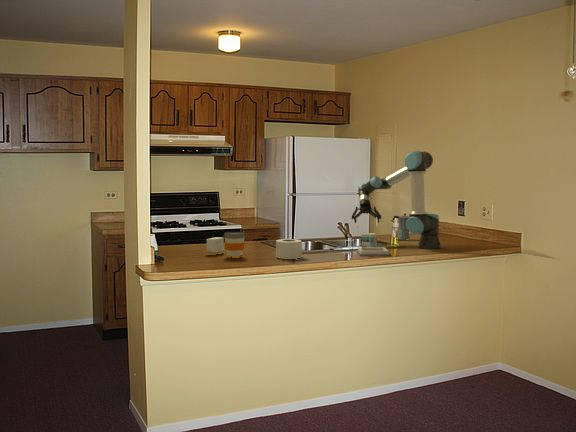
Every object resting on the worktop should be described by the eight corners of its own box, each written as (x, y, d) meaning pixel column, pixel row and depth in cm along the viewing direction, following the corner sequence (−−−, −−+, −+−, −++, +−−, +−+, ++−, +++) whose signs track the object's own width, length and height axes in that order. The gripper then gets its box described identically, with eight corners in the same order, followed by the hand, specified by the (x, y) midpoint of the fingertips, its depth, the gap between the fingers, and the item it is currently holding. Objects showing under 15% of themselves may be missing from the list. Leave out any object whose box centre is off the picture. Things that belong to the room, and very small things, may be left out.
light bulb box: (370, 251, 408) (370, 234, 407) (361, 250, 411) (361, 234, 410) (377, 249, 417) (377, 233, 416) (367, 248, 420) (368, 232, 419)
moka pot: (413, 240, 463) (413, 213, 461) (392, 240, 466) (392, 213, 464) (413, 239, 472) (413, 212, 470) (392, 239, 475) (392, 212, 473)
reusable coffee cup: (221, 256, 385) (221, 232, 384) (241, 255, 390) (240, 231, 389) (228, 259, 373) (227, 234, 372) (247, 258, 378) (247, 233, 377)
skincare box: (216, 253, 401) (215, 236, 400) (224, 253, 398) (224, 237, 397) (206, 255, 392) (206, 238, 391) (214, 255, 389) (214, 239, 388)
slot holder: (385, 251, 405) (385, 247, 404) (390, 256, 386) (390, 251, 385) (356, 251, 405) (356, 247, 404) (359, 256, 386) (359, 251, 385)
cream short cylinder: (306, 258, 379) (306, 240, 378) (287, 260, 368) (287, 242, 368) (289, 255, 390) (289, 238, 389) (270, 257, 380) (270, 240, 379)
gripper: (382, 206, 440) (385, 229, 426) (346, 206, 440) (348, 229, 426) (383, 198, 434) (386, 222, 421) (347, 199, 434) (349, 222, 421)
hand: (367, 226), depth 423 cm, fingers open, 13 cm apart
